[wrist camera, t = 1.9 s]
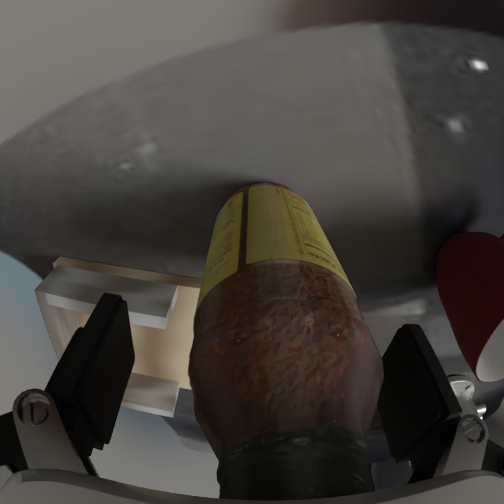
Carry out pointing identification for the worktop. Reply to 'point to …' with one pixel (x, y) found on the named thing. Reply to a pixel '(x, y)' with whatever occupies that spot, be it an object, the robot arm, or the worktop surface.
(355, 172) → the worktop surface
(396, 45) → the worktop surface
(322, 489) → the sauce bottle
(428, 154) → the worktop surface
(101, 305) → the robot arm
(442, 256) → the mug
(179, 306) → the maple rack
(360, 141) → the worktop surface
